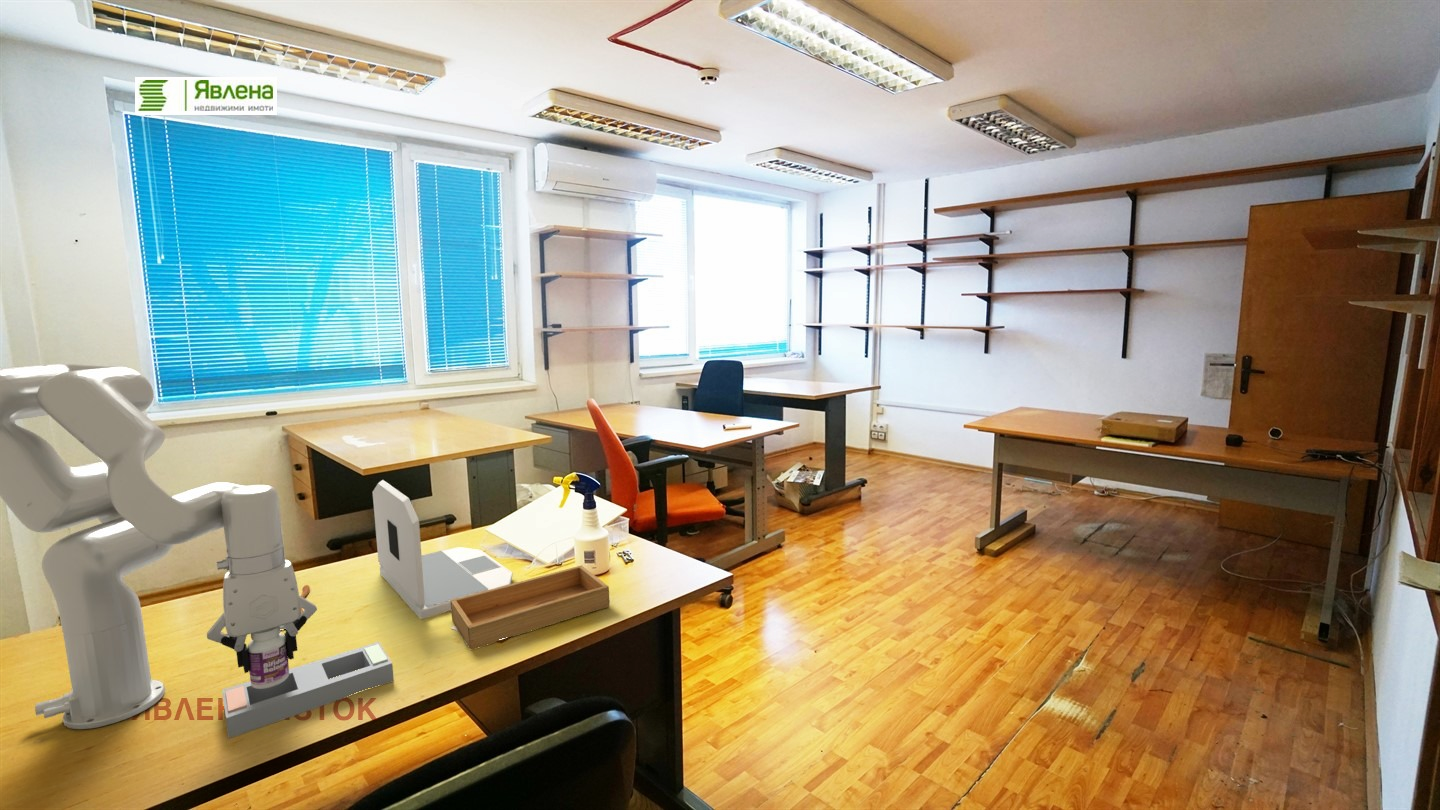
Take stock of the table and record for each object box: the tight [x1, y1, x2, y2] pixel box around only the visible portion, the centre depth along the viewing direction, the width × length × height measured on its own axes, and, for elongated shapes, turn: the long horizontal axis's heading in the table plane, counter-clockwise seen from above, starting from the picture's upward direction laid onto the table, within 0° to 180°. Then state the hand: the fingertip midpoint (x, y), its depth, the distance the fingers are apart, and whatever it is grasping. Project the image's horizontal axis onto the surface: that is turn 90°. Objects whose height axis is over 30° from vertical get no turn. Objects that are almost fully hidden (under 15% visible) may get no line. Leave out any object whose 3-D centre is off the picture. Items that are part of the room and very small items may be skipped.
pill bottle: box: [247, 626, 290, 689], centre depth 106 cm, size 5×5×10 cm
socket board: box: [221, 641, 395, 739], centre depth 111 cm, size 24×10×4 cm, turn 131°
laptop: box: [372, 479, 513, 620], centre depth 157 cm, size 33×24×26 cm
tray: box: [450, 565, 611, 650], centre depth 140 cm, size 31×15×6 cm, turn 126°
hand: (268, 661), depth 106 cm, fingers closed on pill bottle, 5 cm apart
